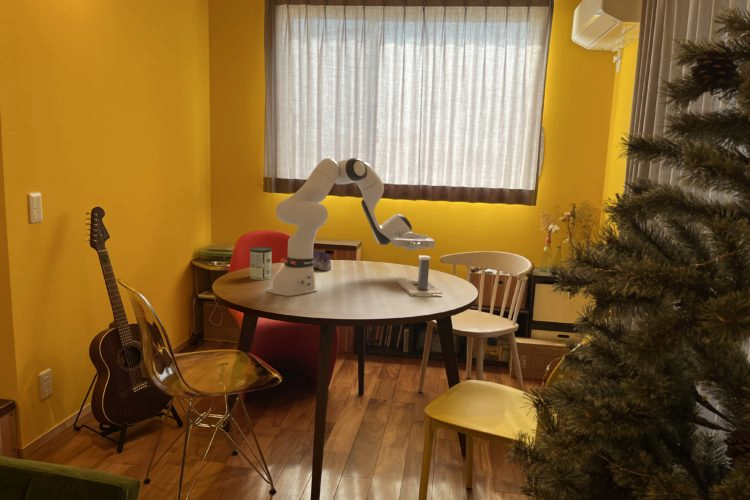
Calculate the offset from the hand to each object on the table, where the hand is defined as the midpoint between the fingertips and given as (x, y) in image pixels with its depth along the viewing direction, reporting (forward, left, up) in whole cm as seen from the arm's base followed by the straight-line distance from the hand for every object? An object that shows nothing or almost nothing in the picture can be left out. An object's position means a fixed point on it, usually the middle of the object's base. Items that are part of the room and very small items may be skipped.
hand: (417, 245), depth 261 cm
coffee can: (-38, +63, -20) cm, 76 cm away
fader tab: (-9, -9, -20) cm, 23 cm away
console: (-4, -4, -20) cm, 20 cm away
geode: (+2, +59, -20) cm, 62 cm away
